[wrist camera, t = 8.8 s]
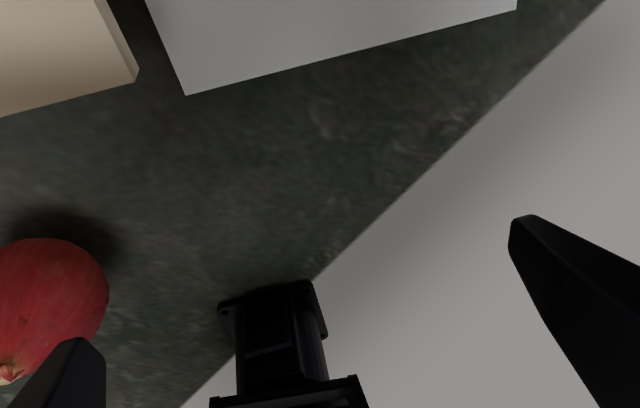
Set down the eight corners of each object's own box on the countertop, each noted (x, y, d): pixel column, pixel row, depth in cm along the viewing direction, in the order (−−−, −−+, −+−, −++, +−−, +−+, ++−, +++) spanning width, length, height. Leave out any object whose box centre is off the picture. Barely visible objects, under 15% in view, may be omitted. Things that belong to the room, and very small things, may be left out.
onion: (142, 242, 24) (116, 375, 18) (79, 295, 26) (35, 433, 19) (39, 183, 21) (-36, 322, 14) (-26, 248, 22) (-119, 397, 16)
